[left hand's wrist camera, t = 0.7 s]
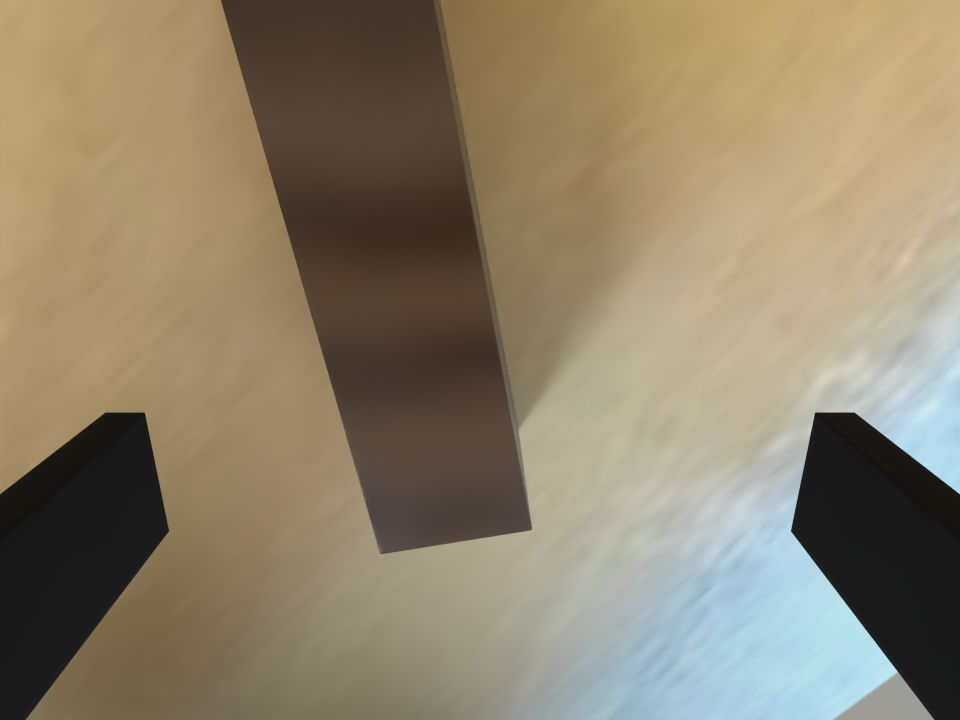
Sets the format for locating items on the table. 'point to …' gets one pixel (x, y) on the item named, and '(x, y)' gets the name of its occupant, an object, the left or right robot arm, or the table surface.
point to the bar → (390, 256)
